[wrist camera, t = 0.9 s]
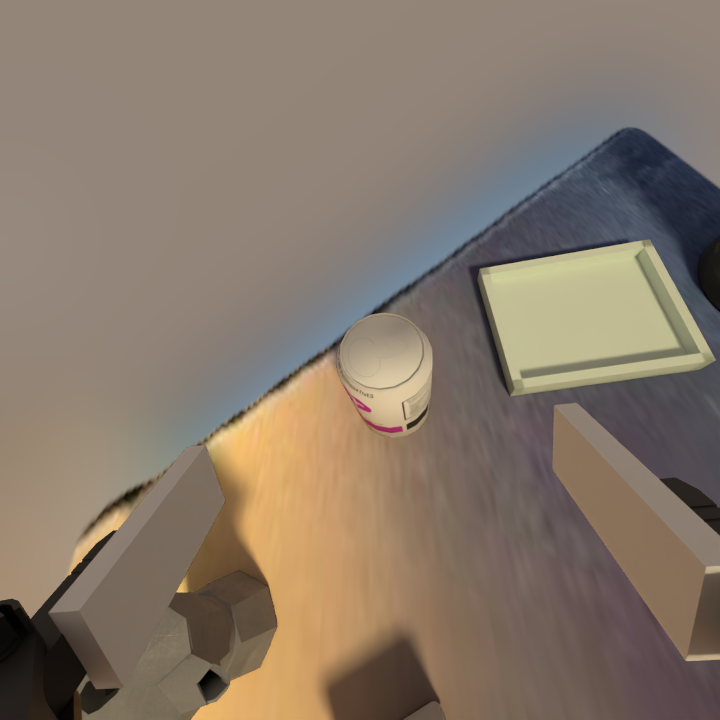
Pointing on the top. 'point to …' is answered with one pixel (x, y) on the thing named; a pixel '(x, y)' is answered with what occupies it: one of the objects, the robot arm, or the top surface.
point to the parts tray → (589, 319)
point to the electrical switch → (428, 713)
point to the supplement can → (387, 373)
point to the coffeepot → (192, 653)
